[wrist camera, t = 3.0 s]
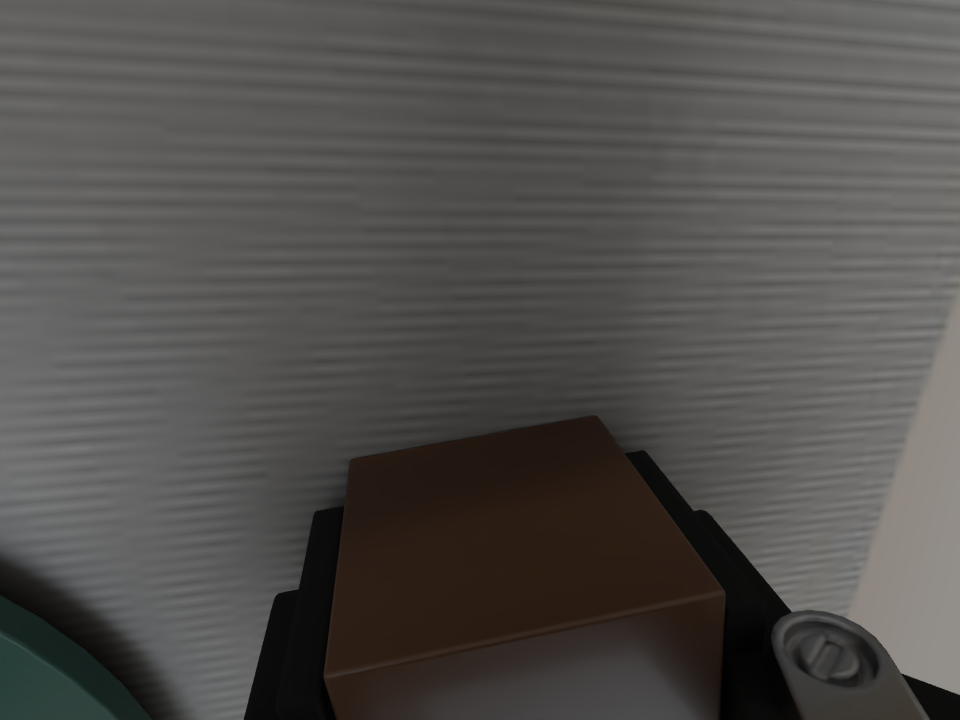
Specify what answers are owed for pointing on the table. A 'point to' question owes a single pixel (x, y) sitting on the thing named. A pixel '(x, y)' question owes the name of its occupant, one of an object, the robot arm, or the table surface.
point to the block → (519, 587)
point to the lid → (54, 675)
